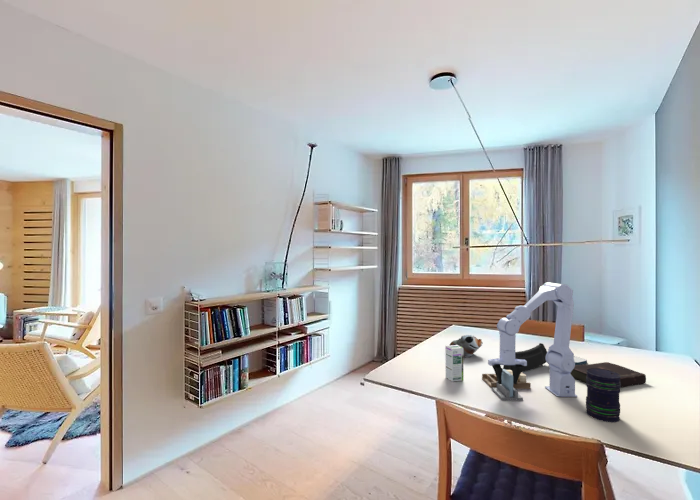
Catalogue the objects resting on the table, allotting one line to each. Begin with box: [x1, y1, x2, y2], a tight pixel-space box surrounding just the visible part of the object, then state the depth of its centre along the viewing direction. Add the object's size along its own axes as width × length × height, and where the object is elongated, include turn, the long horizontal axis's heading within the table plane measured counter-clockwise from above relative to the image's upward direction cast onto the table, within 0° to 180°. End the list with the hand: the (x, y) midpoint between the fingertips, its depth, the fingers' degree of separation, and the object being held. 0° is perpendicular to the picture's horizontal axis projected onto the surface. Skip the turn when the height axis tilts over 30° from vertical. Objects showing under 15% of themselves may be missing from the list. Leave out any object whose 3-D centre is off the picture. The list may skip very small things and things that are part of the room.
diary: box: [570, 361, 647, 389], centre depth 162 cm, size 19×25×5 cm
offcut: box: [518, 372, 527, 383], centre depth 156 cm, size 7×2×4 cm, turn 0°
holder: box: [491, 382, 524, 401], centre depth 144 cm, size 10×8×4 cm
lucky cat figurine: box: [448, 334, 483, 358], centre depth 197 cm, size 15×12×14 cm
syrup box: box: [444, 344, 464, 383], centre depth 161 cm, size 6×6×14 cm
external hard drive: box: [546, 348, 588, 365], centre depth 193 cm, size 24×12×2 cm, turn 27°
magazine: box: [502, 342, 547, 373], centre depth 174 cm, size 17×3×30 cm
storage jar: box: [585, 368, 622, 423], centre depth 127 cm, size 10×10×15 cm
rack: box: [481, 373, 532, 390], centre depth 156 cm, size 11×16×2 cm
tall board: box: [501, 368, 513, 397], centre depth 144 cm, size 8×1×8 cm, turn 0°
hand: (507, 383), depth 144 cm, fingers open, 5 cm apart
